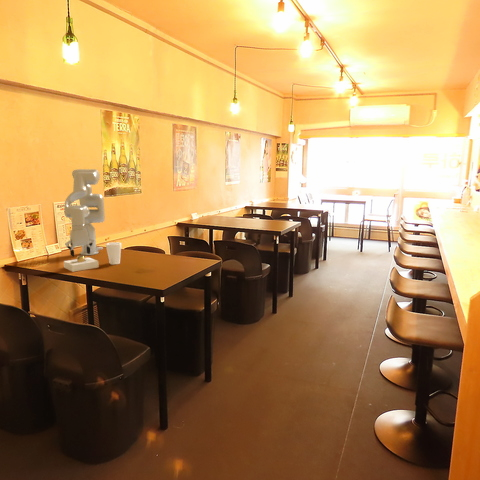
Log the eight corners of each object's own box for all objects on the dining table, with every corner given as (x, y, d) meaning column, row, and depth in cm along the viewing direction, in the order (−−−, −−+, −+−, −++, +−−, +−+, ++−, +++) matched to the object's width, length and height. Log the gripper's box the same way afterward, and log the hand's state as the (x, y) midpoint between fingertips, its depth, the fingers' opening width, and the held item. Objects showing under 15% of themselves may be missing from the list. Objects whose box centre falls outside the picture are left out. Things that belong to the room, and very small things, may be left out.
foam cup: (125, 262, 264) (124, 242, 261) (115, 265, 255) (114, 245, 253) (114, 261, 268) (112, 241, 265) (103, 264, 259) (102, 244, 257)
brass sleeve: (83, 266, 254) (83, 255, 253) (86, 267, 251) (85, 256, 250) (76, 267, 251) (75, 256, 250) (79, 268, 248) (78, 257, 247)
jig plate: (89, 263, 261) (89, 257, 261) (98, 267, 251) (98, 261, 251) (64, 267, 251) (63, 261, 250) (72, 271, 241) (72, 265, 240)
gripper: (90, 225, 255) (91, 251, 259) (61, 228, 244) (64, 256, 247) (95, 226, 250) (96, 253, 253) (66, 230, 238) (68, 258, 242)
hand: (80, 254), depth 250 cm, fingers open, 9 cm apart
